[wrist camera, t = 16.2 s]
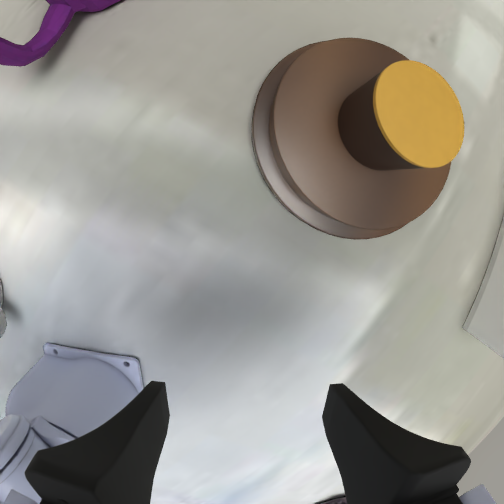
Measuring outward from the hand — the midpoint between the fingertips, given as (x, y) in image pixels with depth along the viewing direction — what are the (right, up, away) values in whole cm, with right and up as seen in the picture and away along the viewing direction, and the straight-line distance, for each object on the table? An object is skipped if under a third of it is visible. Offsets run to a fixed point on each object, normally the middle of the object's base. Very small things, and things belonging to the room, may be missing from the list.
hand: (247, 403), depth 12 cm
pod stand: (+7, +14, +7) cm, 18 cm away
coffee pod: (+7, +14, +3) cm, 16 cm away
